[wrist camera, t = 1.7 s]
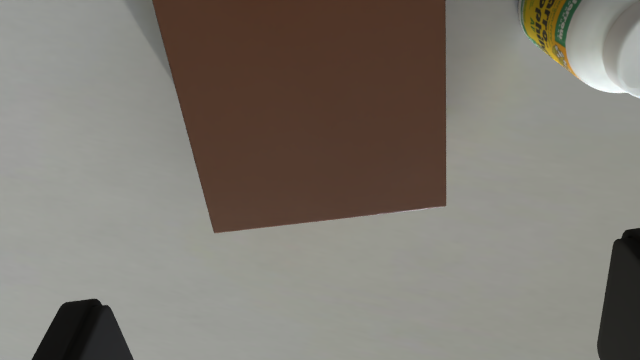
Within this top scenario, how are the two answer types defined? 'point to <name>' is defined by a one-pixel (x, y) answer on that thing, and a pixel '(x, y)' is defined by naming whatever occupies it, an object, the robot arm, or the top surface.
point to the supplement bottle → (589, 39)
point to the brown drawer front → (310, 106)
